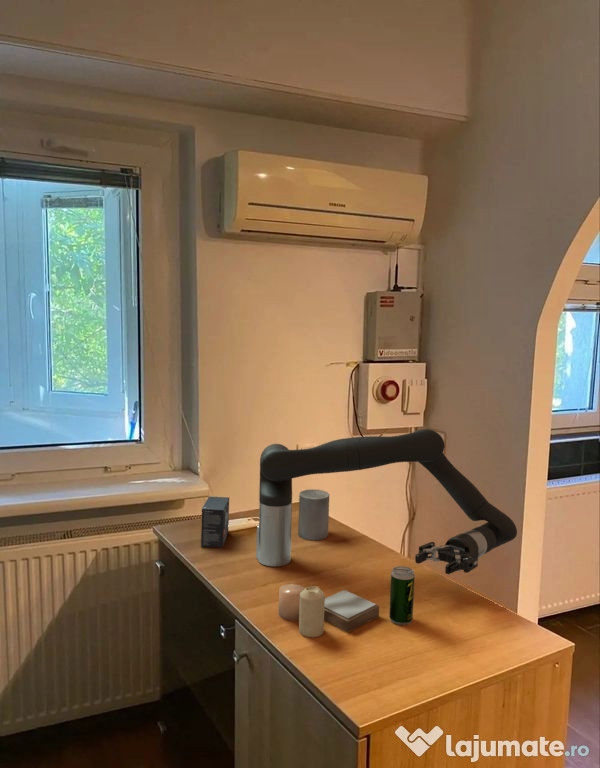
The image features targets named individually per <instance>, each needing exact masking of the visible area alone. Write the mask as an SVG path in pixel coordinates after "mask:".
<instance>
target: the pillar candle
mask: <svg viewBox="0 0 600 768" xmlns="http://www.w3.org/2000/svg"><path fill="white" fill-rule="evenodd" d="M330 495H331V494H330V493H329V492H328V491H325V490H322V489H316V488H315V489H312V488H311V489H305V490H301V491H300V492H299V496H298V498H299V499H298V525H297V526H298V528H297V531H298V532H297V535H298V537H299V538H301V539H303V540H306V539H308V541H321V540H324V539H326V538H328V536H329V523H330V522H329V521H330V518H329V517H330V516H329V515H330Z"/></svg>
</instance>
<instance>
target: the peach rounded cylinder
mask: <svg viewBox="0 0 600 768" xmlns="http://www.w3.org/2000/svg"><path fill="white" fill-rule="evenodd" d="M278 589H279V590H278V616H279V618H281V619H283V620H286V621H299V610H300V593H301V592H302V591H303V590H304V589H305V587H303V586H302V585H299V584H295V583H290V584H289V583H288V584H284V585H283V584H282V585H281V586H280V587H279V588H278Z"/></svg>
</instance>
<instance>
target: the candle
mask: <svg viewBox="0 0 600 768" xmlns="http://www.w3.org/2000/svg"><path fill="white" fill-rule="evenodd" d="M325 596H326V595H325V592H323V591H322V590H321V589H320V587H319V586H315V585H311V586H306V587H304V590H303V591H302V592H301V593H300V610H299V620H298V631H299V632H298V633H299V634H300V635H301V636H304V637H306V638H318V637H320V636H322V635H323V634H324V631H325V621H324V607H325V598H326V597H325Z"/></svg>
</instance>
